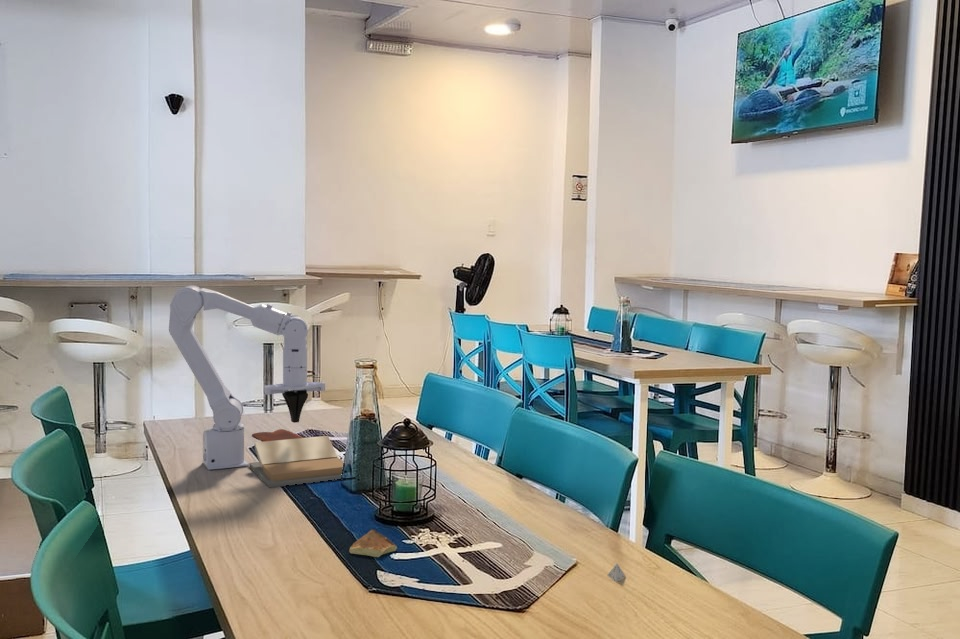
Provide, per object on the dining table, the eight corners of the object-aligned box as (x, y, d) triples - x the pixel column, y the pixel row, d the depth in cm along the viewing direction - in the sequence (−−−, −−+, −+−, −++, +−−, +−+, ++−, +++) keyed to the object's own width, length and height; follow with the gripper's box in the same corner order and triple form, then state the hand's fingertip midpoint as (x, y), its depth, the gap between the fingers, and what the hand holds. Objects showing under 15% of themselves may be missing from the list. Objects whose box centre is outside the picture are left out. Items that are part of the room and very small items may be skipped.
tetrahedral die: (613, 579, 149) (609, 562, 150) (627, 578, 148) (622, 560, 148) (602, 585, 147) (598, 567, 147) (616, 584, 145) (611, 566, 145)
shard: (372, 535, 166) (372, 526, 166) (410, 540, 164) (410, 531, 164) (347, 555, 156) (347, 545, 156) (387, 561, 154) (387, 551, 153)
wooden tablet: (249, 437, 242) (249, 431, 242) (282, 433, 248) (282, 427, 248) (294, 457, 222) (294, 451, 221) (330, 452, 228) (330, 445, 228)
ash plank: (261, 469, 204) (262, 464, 203) (254, 447, 210) (254, 442, 209) (336, 461, 212) (337, 456, 211) (327, 440, 218) (328, 435, 217)
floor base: (269, 487, 194) (269, 477, 193) (249, 466, 210) (249, 456, 210) (355, 477, 203) (355, 467, 203) (330, 458, 220) (330, 448, 219)
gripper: (269, 370, 206) (269, 427, 207) (329, 367, 213) (329, 422, 214) (261, 366, 212) (262, 421, 214) (320, 363, 219) (320, 416, 220)
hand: (295, 421), depth 214 cm, fingers closed
